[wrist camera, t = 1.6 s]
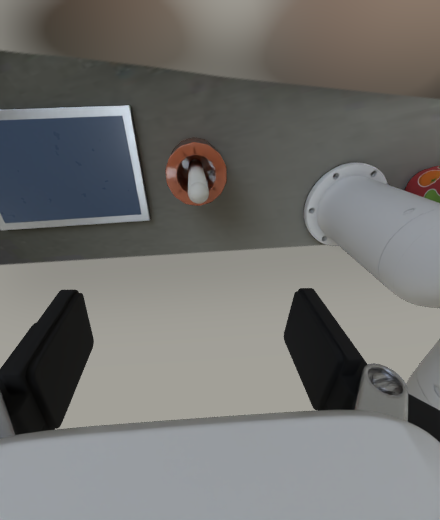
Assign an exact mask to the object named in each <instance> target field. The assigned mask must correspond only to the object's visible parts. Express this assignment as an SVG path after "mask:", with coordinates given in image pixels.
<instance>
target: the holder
mask: <svg viewBox="0 0 440 520" xmlns="http://www.w3.org/2000/svg"><path fill="white" fill-rule="evenodd" d="M194 159H197V160H199V161H200V162H201V163H202V166H203V170H204V174H205V178H206V182H207V186H208V190H209V196H208V199H207V200H206V201H205V202H203V203H200V204H197V203H194V202H192V201H191V200H190V198H189V196H188V168H189V163H190V162H191V161H192V160H194ZM165 170H166V171H165V172H166V180H167V185H168V187H169V188H170V190H171V191H172V193H173V195H174V196H175V197H176V198H178V199H179V200H181V201H182V202H184V203H185V204H190V205H196V206H200V205H204V204H207V203H210V202H212V201H213V200H214V199H216V198H217V197H218V196H219V195H220V194H221V193H222V191H223V188H224V186H225V184H226V180H227V174H226V165H225V163H224V161H223V159H222V157H221V155H220V153H219V152H218V151H217V150H216V148H215V147H214V146H213V145H211V144H210V143H209V142H208V141H206V140H205V139H201V138H195V137H192V138H188V139H185V140H182V141H181V142H180V143H179V144H178V145H177V146H176V147H175V148H174V149H173V151H172V153H171V155H170V157H169V160H168V163H167V166H166V169H165Z"/></svg>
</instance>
